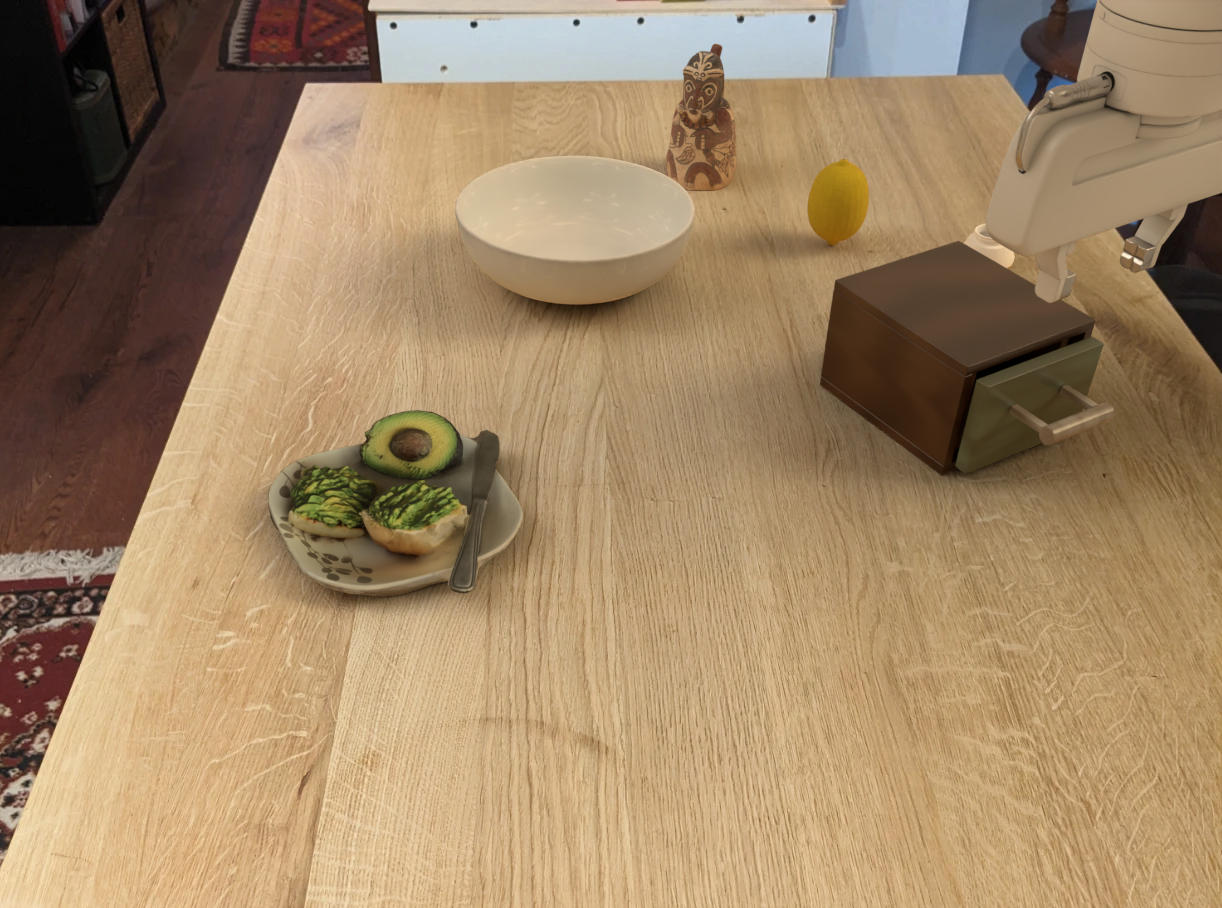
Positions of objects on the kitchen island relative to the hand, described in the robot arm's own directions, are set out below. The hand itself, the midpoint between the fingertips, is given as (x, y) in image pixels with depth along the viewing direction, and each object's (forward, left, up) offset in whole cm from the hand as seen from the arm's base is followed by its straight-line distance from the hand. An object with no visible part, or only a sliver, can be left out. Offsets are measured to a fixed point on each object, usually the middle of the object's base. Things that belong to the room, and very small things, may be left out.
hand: (1093, 282), depth 84 cm
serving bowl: (+14, -44, -15) cm, 48 cm away
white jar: (-20, -27, -15) cm, 37 cm away
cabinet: (0, -11, -15) cm, 19 cm away
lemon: (-10, -37, -15) cm, 41 cm away
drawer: (0, -6, -14) cm, 16 cm away
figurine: (-8, -56, -15) cm, 58 cm away
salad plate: (+43, -20, -15) cm, 50 cm away
